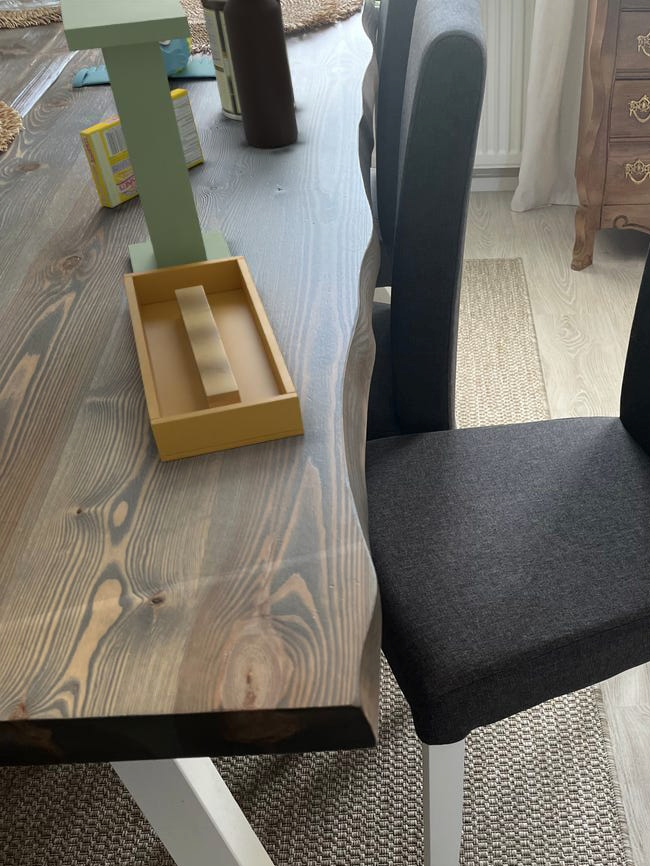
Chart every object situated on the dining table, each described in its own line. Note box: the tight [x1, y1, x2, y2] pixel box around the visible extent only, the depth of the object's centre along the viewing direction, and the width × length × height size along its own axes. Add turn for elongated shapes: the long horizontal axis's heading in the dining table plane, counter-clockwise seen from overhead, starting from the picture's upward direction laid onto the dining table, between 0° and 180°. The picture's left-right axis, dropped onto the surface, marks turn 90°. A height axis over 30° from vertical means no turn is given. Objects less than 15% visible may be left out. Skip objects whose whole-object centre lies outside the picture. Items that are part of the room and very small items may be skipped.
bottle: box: [223, 0, 299, 149], centre depth 124 cm, size 7×7×20 cm
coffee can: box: [199, 0, 297, 122], centre depth 134 cm, size 10×10×14 cm
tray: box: [122, 254, 305, 463], centre depth 89 cm, size 28×12×4 cm, turn 19°
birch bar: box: [175, 285, 241, 409], centre depth 89 cm, size 20×3×3 cm, turn 20°
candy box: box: [79, 88, 205, 209], centre depth 118 cm, size 16×2×8 cm, turn 150°
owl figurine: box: [72, 13, 216, 88], centre depth 147 cm, size 28×9×15 cm
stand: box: [58, 0, 233, 273], centre depth 96 cm, size 14×10×24 cm
